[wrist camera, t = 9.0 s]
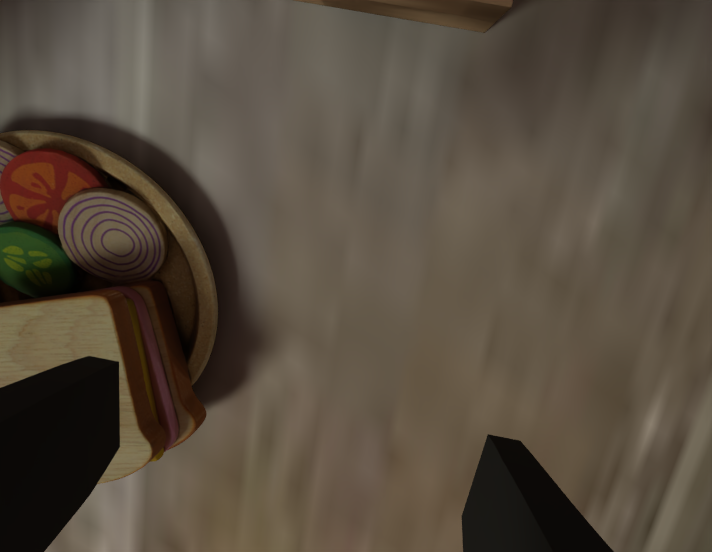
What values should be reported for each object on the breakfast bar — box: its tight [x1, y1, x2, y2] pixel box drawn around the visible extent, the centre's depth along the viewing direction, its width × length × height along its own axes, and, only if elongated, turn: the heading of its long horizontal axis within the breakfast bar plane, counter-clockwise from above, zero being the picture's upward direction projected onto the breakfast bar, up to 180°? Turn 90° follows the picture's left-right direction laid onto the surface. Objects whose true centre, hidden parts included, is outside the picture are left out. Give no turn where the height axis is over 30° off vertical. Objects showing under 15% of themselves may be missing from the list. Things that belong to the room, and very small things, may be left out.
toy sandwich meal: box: [0, 130, 218, 484], centre depth 18 cm, size 12×14×5 cm
